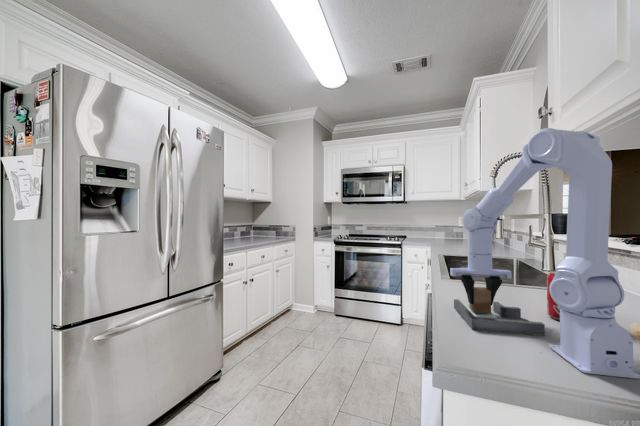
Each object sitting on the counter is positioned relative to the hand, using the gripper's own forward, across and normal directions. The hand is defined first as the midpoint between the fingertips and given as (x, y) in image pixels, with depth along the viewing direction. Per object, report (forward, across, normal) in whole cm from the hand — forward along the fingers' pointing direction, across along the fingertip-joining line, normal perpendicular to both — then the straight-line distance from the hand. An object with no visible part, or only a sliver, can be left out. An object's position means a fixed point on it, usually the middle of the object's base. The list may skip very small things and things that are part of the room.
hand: (480, 303), depth 72 cm
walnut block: (+2, 0, 0) cm, 2 cm away
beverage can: (+3, -20, 0) cm, 20 cm away
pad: (+3, 0, 0) cm, 3 cm away
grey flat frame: (+3, -2, +4) cm, 5 cm away
